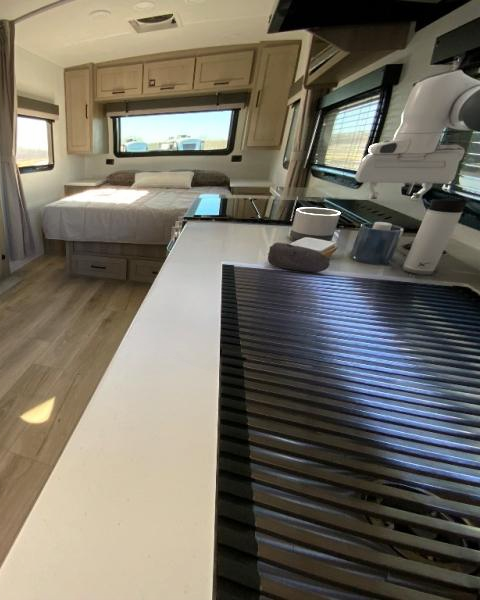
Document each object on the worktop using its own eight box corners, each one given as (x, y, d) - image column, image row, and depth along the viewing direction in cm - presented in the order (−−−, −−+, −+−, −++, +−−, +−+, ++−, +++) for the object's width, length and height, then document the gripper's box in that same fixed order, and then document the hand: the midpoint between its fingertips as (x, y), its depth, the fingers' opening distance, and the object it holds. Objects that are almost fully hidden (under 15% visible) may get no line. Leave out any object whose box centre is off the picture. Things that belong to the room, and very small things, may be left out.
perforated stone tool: (327, 272, 93) (335, 248, 90) (325, 278, 89) (333, 253, 86) (268, 261, 101) (273, 239, 98) (264, 267, 97) (269, 244, 94)
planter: (280, 238, 123) (288, 209, 118) (304, 234, 127) (312, 206, 122) (314, 247, 112) (323, 216, 107) (339, 242, 116) (349, 212, 112)
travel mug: (423, 277, 88) (460, 200, 79) (396, 268, 94) (427, 195, 85) (439, 274, 90) (477, 198, 81) (412, 266, 95) (444, 194, 86)
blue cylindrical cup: (384, 256, 103) (397, 224, 98) (394, 266, 95) (409, 232, 91) (346, 252, 107) (357, 221, 102) (353, 262, 99) (365, 229, 95)
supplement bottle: (357, 252, 104) (369, 220, 99) (379, 255, 102) (393, 222, 97) (360, 258, 100) (373, 224, 95) (384, 260, 97) (398, 226, 93)
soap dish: (300, 250, 110) (304, 235, 107) (334, 258, 103) (340, 242, 100) (282, 258, 103) (286, 243, 101) (317, 267, 96) (322, 250, 94)
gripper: (461, 143, 85) (438, 199, 91) (362, 146, 93) (347, 196, 100) (474, 144, 80) (448, 203, 86) (368, 147, 88) (352, 200, 95)
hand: (393, 199), depth 93 cm, fingers open, 8 cm apart
